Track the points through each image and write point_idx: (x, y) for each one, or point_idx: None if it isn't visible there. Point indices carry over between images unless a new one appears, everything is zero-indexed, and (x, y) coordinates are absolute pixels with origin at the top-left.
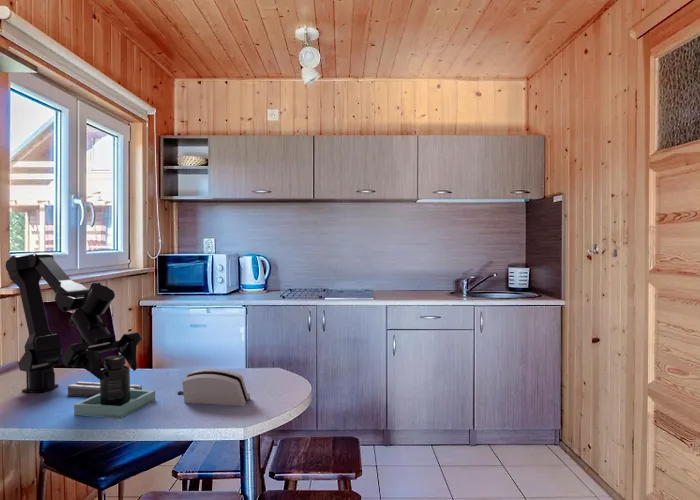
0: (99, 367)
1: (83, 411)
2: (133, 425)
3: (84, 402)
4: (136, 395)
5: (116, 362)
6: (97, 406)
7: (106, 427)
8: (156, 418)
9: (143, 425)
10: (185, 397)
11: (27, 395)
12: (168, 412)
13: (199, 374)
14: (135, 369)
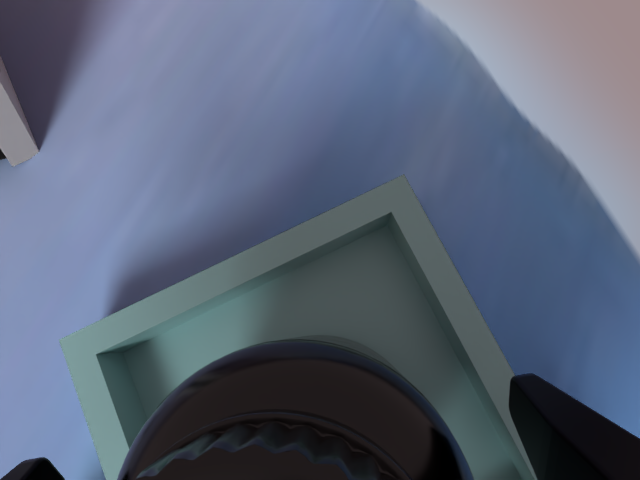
0: (624, 465)
1: None
2: (402, 51)
3: None
4: None
5: (316, 438)
6: (498, 348)
7: (510, 132)
8: (276, 50)
9: (369, 14)
10: (21, 115)
11: None
12: (188, 80)
13: None
14: (50, 462)
